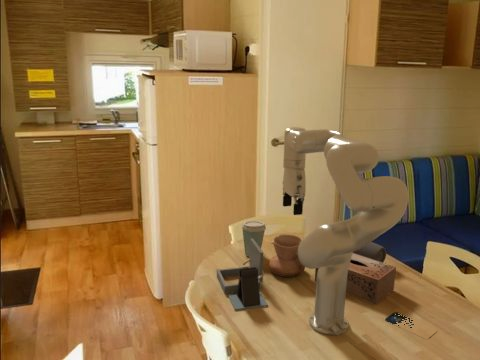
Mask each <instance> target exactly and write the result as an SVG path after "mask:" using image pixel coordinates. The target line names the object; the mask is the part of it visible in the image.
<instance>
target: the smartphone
mask: <svg viewBox="0 0 480 360" xmlns="http://www.w3.org/2000/svg"><path fill="white" fill-rule="evenodd" d="M398 313H399V312H397V311H394V312H393V313H391V314H390V315H388V316H386V317H385V319H384V320H385V322H387V323H389V322H390V323H389V324H391V323H392V324H391V325H393V324H397V323H396V322H398V323H402V322H401V321H404V320H407V319H405V318H407V317H408V316H407V317H405V316H406V315H405V316H404V317H403V315H404V314H402V316H401V315H400V314H401V313H400V314H398ZM395 314H396V315H395ZM398 315H400V316H398ZM410 318H411V317H409V318H408V319H409V322H410ZM402 319H404V320H402ZM411 321H413V320H411ZM405 322H406V321H405ZM410 323H412V322H410ZM406 324H409V323H406ZM404 325H405V324H404ZM411 325H414V324H411ZM411 325H408V326H411ZM398 326H399V325H398ZM410 328H412V327H410Z"/></svg>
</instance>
